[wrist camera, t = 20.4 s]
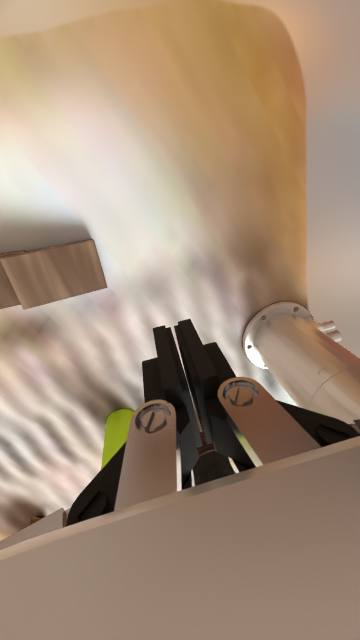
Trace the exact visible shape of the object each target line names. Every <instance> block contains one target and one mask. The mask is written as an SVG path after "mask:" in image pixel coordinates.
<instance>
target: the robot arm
mask: <svg viewBox="0 0 360 640" xmlns="http://www.w3.org/2000/svg"><path fill="white" fill-rule="evenodd" d="M174 328H175V332H176V336H177V341H178V345H179V349H180V353H181V357H182V361H183V366H184V370H185V373H184V370H183V367H182V364H181V360H180V357H179V354H178V350H177V347H176V344H175V341H174V337H173V334H172V331H171V328H170V327H169V328H165V325H164V326H160V327H156V328H153V333H154V339H155V345H156V351H157V356H158V357H157V358H153V359H150V360H146V361H143V362H142V369H143V384H144V399H145V404H143V405H141V406H140V407H139V408H138V409H137V410H136V411H135V412H134V414H133V415H132V418H131V420H130V425H129V431H128V436H127V441H126V442H125V443H124V444H123V446H122V447H121V448H120V449H119V450H118V451H117V452H116V454H115V455H114V456H113V457H112V458H111V459H110V460H109V462H108V463H107V464H106V465H105V466H104V467H103V468H102V470H101V471H100V472H99V473H98V474H97V475H96V477H95V478H94V479H93V480H92V481H91V482H90V483H89V485H88V486H87V487H86V488H85V489H84V490H83V491H82V493H81V494H80V495H79V496H78V497H77V499H76V500H75V502H74V503H73V504H72V507H71V508H69V509H68V510H66V511H65V510H64V509H63V508H61V509H59V510H57V511H55V512H54V513H52V514H50V515H48V516H46V517H44V518H43V519H41V520H39V521H37V522H35V523H33V524H31V525H30V526H28V527H26V528H24V529H22V530H20V531H19V532H17V533H15V534H13V535H11V536H9V537H7V538H6V539H4V540H2V541H0V640H360V358H358V357H357V356H356V355H354V354H353V353H351V352H350V351H348V350H347V349H346V348H344V347H343V346H341V345H340V344H338V343H337V342H339V341H341V340H342V335H341V333H340V332H339V331H338V330H335V331H331V332H327V333H325V334H324V333H323V331H325V330H326V331H327V330H330V329H334V328H335V323H334V322H333V321H328V322H324V323H321V324H319V323H317V322H315V321H314V319H313V317H312V315H311V314H310V312H309V311H308V310H307V309H306V308H305V307H303V306H301V305H300V304H297V303H294V302H279V303H275V304H272V305H270V306H268V307H266V308H264V309H263V310H261V311H260V312H259V313H257V314H256V315H255V316H254V317H253V319H252V320H251V321H250V322H249V324H248V326H247V327H246V330H245V332H244V335H243V349H244V353H245V354H246V356H247V358H248V359H249V360H250V361H251V362H252V363H253V364H254V365H256V366H258V367H260V368H264V369H269V371H270V372H271V373H272V374H273V376H274V377H275V378H276V379H277V381H278V382H279V383H280V384H281V386H282V387H283V388H284V389H285V391H286V392H287V393H288V394H289V396H290V397H291V398H292V399H293V401H294V402H295V403H296V404H297V405H298V407H297V406H294V405H290V404H287V403H284V402H280V401H277V400H275V399H274V398H273V397H272V396H271V395H270V394H269V393H268V392H267V391H266V390H265V389H264V387H263V386H262V385H261V384H259V383H258V382H257V381H255V380H253V379H251V378H246V377H236V375H235V374H234V372H233V370H232V369H231V367H230V365H229V364H228V362H227V360H226V358H225V357H224V355H223V353H222V352H221V350H220V348H219V347H218V345H217V343H216V342H213V343H209V344H205V345H203V344H202V342H201V340H200V338H199V336H198V334H197V332H196V330H195V328H194V326H193V324H192V322H191V320H190V319H187V320H183V321H179V322H178V325H177V326H174ZM185 374H186V377H185ZM186 378H187V380H186ZM187 381H188V384H187ZM188 385H189V387H188ZM189 388H190V391H191V394H192V397H193V401H194V404H195V407H196V410H197V414H198V417H199V420H200V423H201V427H202V430H203V433H204V436H205V439H206V443H207V444H210V443H213V446H214V449H215V452H219V453H221V454H223V455H225V456H227V457H228V458H229V461H230V464H231V466H232V468H233V469H234V471H235V473H236V474H233V475H229V476H226V477H223V478H220V479H216V480H213V481H210V482H207V483H203V484H200V485H197V486H195V485H194V474H193V470H192V469H193V467H194V466H195V464H196V462H197V461H198V459H199V453H198V450H197V447H200V446H203V445H202V441H201V437H200V433H199V429H198V425H197V420H196V416H195V412H194V408H193V404H192V400H191V395H190V391H189Z"/></svg>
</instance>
